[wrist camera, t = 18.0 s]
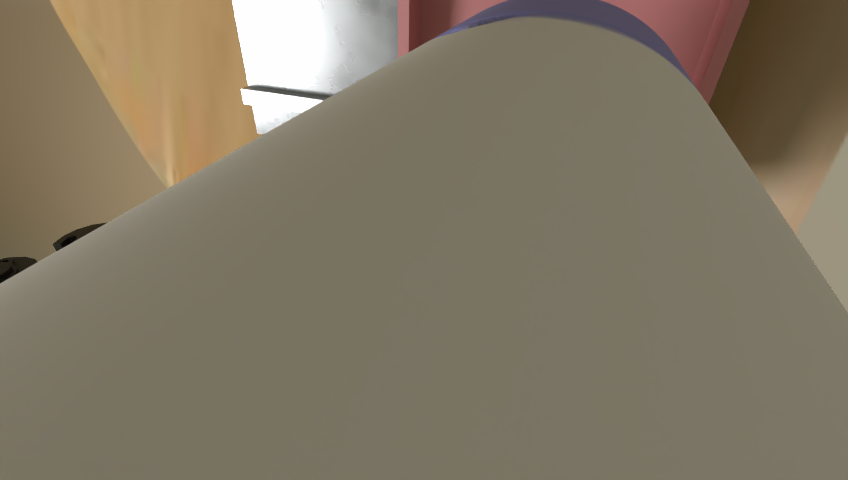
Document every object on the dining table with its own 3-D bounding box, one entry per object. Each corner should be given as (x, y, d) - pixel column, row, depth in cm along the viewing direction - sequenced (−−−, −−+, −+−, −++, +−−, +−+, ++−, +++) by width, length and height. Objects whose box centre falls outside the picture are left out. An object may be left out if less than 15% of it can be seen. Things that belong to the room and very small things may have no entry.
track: (222, -112, 30) (199, -115, 28) (773, -106, 22) (787, -110, 21) (265, 128, 40) (250, 137, 38) (660, 192, 32) (664, 207, 30)
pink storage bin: (438, -93, 25) (397, -103, 20) (742, -87, 21) (788, -97, 16) (428, 158, 33) (398, 197, 28) (643, 193, 30) (653, 245, 25)
